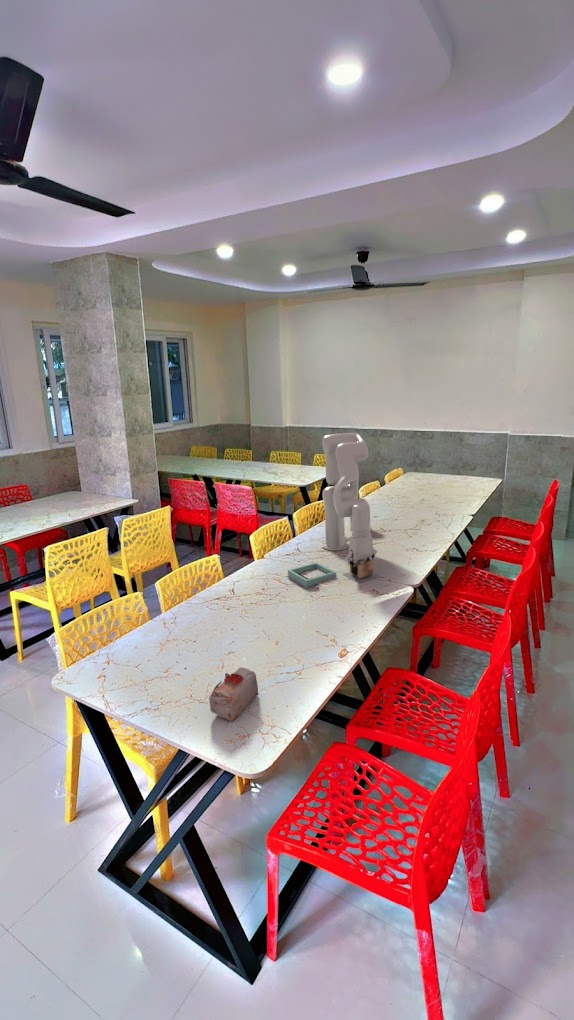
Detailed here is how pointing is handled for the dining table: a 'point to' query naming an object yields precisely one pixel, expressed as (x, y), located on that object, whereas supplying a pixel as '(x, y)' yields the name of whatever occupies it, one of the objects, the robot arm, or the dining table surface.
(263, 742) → the dining table surface
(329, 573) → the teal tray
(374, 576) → the stake stand
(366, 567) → the oak collar
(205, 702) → the dining table surface
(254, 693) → the food item
